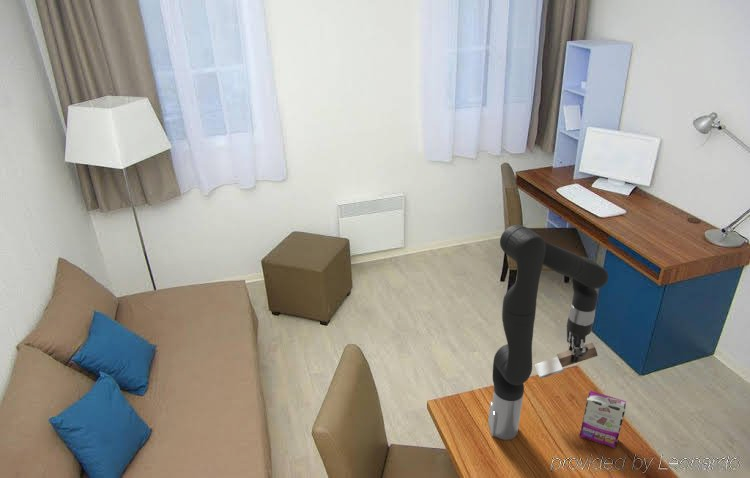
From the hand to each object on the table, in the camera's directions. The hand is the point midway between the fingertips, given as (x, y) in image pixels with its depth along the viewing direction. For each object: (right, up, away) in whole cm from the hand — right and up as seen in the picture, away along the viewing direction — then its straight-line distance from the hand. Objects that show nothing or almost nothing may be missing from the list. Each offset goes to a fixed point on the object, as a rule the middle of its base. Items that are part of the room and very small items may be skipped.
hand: (572, 359), depth 174 cm
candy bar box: (+7, -25, -2) cm, 26 cm away
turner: (-1, -1, +1) cm, 1 cm away
